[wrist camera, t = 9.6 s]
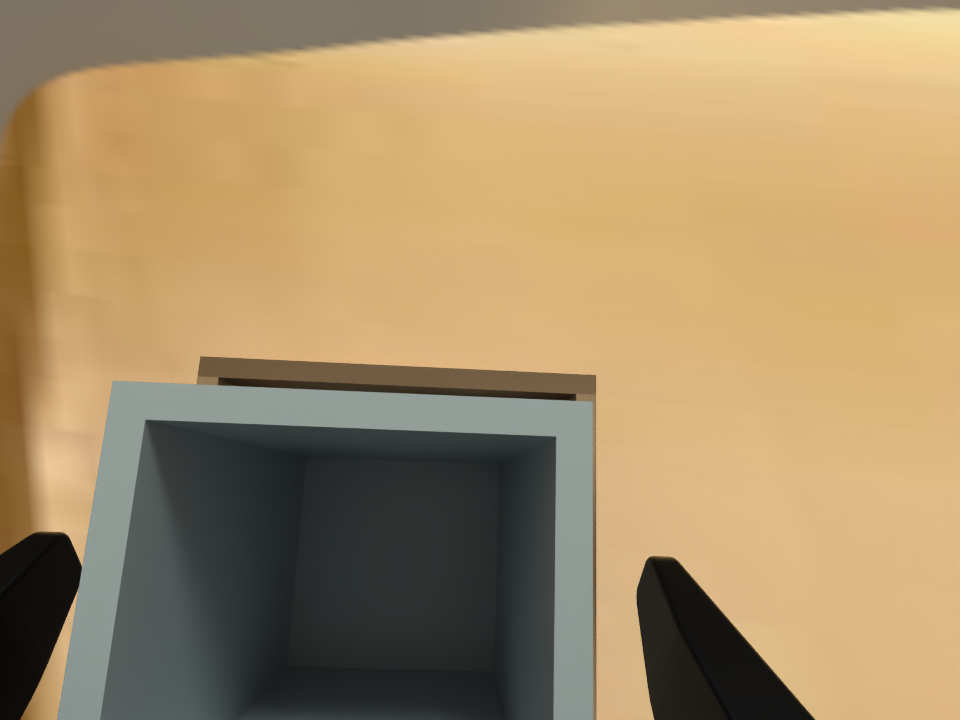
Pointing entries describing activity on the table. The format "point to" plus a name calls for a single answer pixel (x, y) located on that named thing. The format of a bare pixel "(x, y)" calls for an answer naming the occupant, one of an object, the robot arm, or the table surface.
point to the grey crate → (335, 558)
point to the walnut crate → (411, 383)
